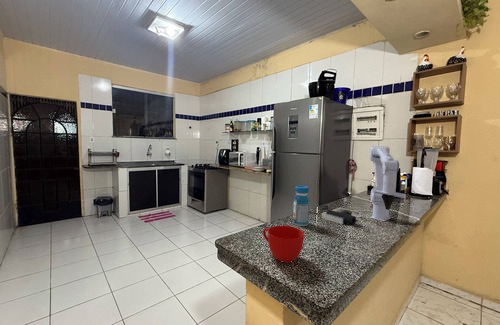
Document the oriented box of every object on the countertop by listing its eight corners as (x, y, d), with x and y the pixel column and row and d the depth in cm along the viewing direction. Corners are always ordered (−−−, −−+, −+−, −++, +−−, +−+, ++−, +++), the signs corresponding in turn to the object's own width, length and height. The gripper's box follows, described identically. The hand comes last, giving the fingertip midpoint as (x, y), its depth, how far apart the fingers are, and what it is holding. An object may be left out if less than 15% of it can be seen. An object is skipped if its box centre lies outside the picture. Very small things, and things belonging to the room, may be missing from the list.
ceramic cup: (273, 244, 94) (273, 220, 93) (309, 258, 82) (310, 232, 81) (252, 254, 84) (252, 228, 84) (289, 272, 73) (290, 242, 72)
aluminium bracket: (340, 211, 143) (340, 207, 142) (360, 217, 133) (360, 212, 132) (321, 218, 129) (321, 213, 129) (342, 224, 120) (342, 218, 119)
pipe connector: (336, 206, 136) (361, 212, 124) (336, 215, 136) (361, 222, 125) (326, 210, 129) (351, 216, 117) (325, 219, 129) (351, 226, 118)
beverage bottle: (302, 227, 113) (303, 188, 112) (289, 223, 120) (290, 186, 118) (312, 224, 119) (313, 187, 117) (299, 220, 125) (300, 184, 124)
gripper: (371, 182, 118) (369, 207, 119) (403, 186, 107) (401, 214, 108) (376, 181, 123) (375, 205, 124) (407, 184, 112) (406, 211, 113)
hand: (387, 209), depth 116 cm, fingers closed
